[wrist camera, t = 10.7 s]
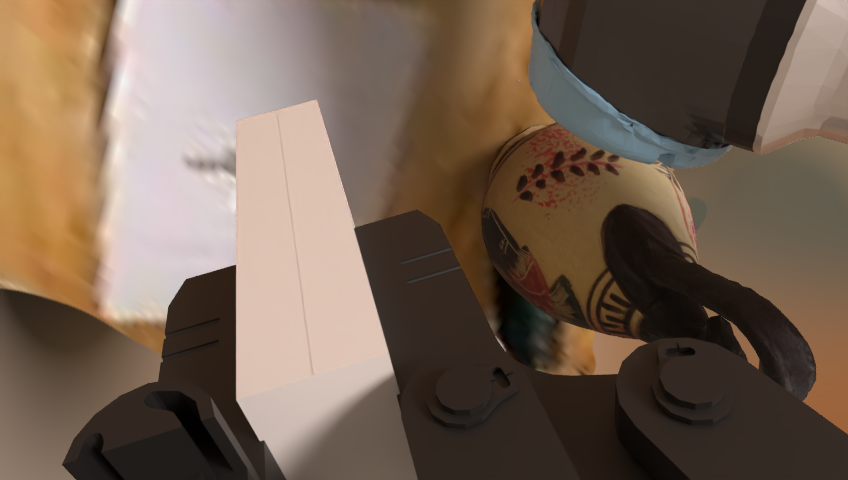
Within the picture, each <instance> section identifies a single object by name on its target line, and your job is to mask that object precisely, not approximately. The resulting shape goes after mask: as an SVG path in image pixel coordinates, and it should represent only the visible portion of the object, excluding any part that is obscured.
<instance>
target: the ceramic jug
mask: <svg viewBox="0 0 848 480" xmlns="http://www.w3.org/2000/svg"><path fill="white" fill-rule="evenodd" d="M519 81H521V80H519ZM481 220H482V233H483V237H484V242H485V245H486V248H487V251H488V253H489V256H490V258H491V260H492V262H493V264H494V266H495V268H496V269H497V270H498V272H499V273H500V274H501V276H502V277H503V278H504V279H505V280H506V282H507V283H508V284H509V285H510V286H511V287H512V288H513V289H514V290H515V291H517V292H518V293H519V294H520V295H521V296H523V297H524V298H525V299H526V300H527V301H529V302H530V303H531V304H533V305H534V306H535V307H537V308H538V309H540V310H542V311H543V312H545V313H547V314H549V315H550V316H552V317H555V318H557V319H559V320H562V321H564V322H567V323H570V324H573V325H576V326H579V327H582V328H586V329H590V330H594V331H597V332H600V333H604V334H607V335H613V336H618V337H622V338H631V339H640V340H642V341H644V342H647V343H651V342H653V341H656V340H659V339H664V338H693V339H697V340H701V341H706V342H710V343H714V344H717V345H719V346H721V347H723V348H725V349H727V350H729V351H731V352H732V353H734V354H736V355H738V356H740V357H742V358H743V359H745V360H746V361H747V358H746V355H745V353H744V351H743V350H742V348H741V346H740V344H739V342H738V341H737V339H736V337H735V336H734V334H733V330H732V327H731V324H730V323H729V322H728V321H727V320H729V321H731V322H732V323H733V324H735V325H736V326H737V327H738V329H739V330H740V331H741V332H742V333H743V334H744V335H745V337H746V338H747V339H748V340H749V342H750V344H751V345H752V347H753V348H754V350H755V351H756V353H757V355H758V357H759V359H760V362H759V370H760V371H761V372H763V373H764V374H765V375H767V376H768V377H769V378H771V379H772V380H773V381H775V382H776V383H778V384H779V385H780V386H782V387H783V388H784V389H786V390H787V391H789V392H790V393H791V394H793V395H794V396H795V397H797V398H798V399H800V400H801V401H803V400H804V399H805V398H806V397H807V394H808V392H809V391H810V390H811V388H812V386H813V384H814V383H815V381H816V364H815V360H814V356H813V354H812V352H811V349H810V347H809V345H808V343H807V342H806V341H805V339H804V338H803V336H802V335H801V334H800V332H799V331H798V330H797V328H796V327H795V326H794V325H793V324H792V323H791V322H790V321H789V319H788V318H787V317H786V316H785V315H784V314H783V313H782V312H781V311H780V310H779V309H777V307H776V306H774V305H773V304H772V303H771V302H770V301H769V300H767V299H765V298H764V297H762V296H760V295H759V294H757V293H756V292H755V291H754V290H752V289H751V288H747V287H743V286H742V285H740V284H739V283H737V282H734V281H731V280H728V279H726V278H724V277H722V276H720V275H718V274H715V273H712V272H710V271H709V270H707V269H706V268H704V267H702V266H701V265H699V259H698V253H697V243H696V231H695V227H694V224H693V219H692V214H691V210H690V207H689V205H688V203H687V201H686V198H685V195H684V192H683V191H682V189H681V187H680V185H679V183H678V181H677V180H676V178H675V176H674V175H673V173H672V172H671V170H670V169H669V168H668V167H667V166H666V165H664V164H663V163H661V162H659V161H657V160H656V161H655V162H654V163H653V164H645V163H640V162H636V161H632V160H629V159H626V158H623V157H620V156H617V155H614V154H611V153H609V152H607V151H605V150H602V149H600V148H597V147H595V146H594V145H592V144H590V143H588V142H586V141H584V140H582V139H580V138H579V137H577V136H575V135H574V134H572V133H570V132H569V131H567V130H566V129H565V128H563V127H562V126H561V125H559V124H558V123H557V122H556V123H554V124H551V125H548V126H545V125H536V126H532V127H530V128H529V129H527V130H526V131H524V132H523V133H521V134H519V135H517V136H516V137H514V138H513V139H511V140H510V141H509V142H508V143H507V144H506V145H505V146H504V148H503V149H502V151H501V152H500V154H499V155H498V157H497V158H496V160H495V161H494V163H493V165H492V167H491V169H490V172H489V182H488V185H487V187H486V190H485V194H484V199H483V205H482V211H481ZM703 306H705V307H706V308H708V309H710V310H712V311H714V312H716V313H717V314H719V315H718V316H713V317H710V318H709V317H708V315H707V313H706V311H705V309H704V307H703ZM723 317H724V318H725V319H727V320H725V319H724V318H723ZM747 362H748V361H747Z"/></svg>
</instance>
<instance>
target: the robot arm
mask: <svg viewBox="0 0 848 480" xmlns="http://www.w3.org/2000/svg"><path fill="white" fill-rule="evenodd" d="M531 23H532V27H533V35H532V43H531V51H530V58H529V66H528V75H529V82H530V86H531V87H532V89H533V91H534V93H535V95H536V97H537V101H538V102H539V104H540V105H541V107H542V108H543V109H544V110H545V111H546V112H547V113H548V115H549V116H550V117H551V118H552V119H554V120H555V121H556V122H557V123H558V124H559V125H561V126H562V127H563V128H565V129H566V130H567V131H569V132H570V133H572V134H574V135H575V136H577V137H579V138H580V139H582V140H584V141H586V142H588V143H590V144H592V145H594V146H595V147H597V148H600V149H602V150H605V151H607V152H609V153H611V154H614V155H617V156H620V157H623V158H626V159H629V160H632V161H636V162H640V163H645V164H653V163H654V162H655V161H656V160H657V161H659V162H661V163H663V164H664V165H666V166H668V167H670V168H696V167H701V166H704V165H709V164H712V163H713V162H715V161H717V160H718V159H719V158H721V157H722V155H723V154H725V153H726V152H728V151H729V150H730V149H731V148H732V147H733V146H736V147H739V148H742V149H745V150H748V151H752V152H755V153H759V154H766V153H768V152H771V151H773V150H776V149H778V148H780V147H783V146H785V145H788V144H790V143H793V142H795V141H797V140H800V139H802V138H809V137H815V136H820V137H823V138H826V139H830V140H834V141H837V142H841V143H844V144H847V145H848V0H536V1H535V2H534V3H533V8H532V13H531ZM165 335H166V339H164V343H163V350H162V358H163V362H162V363H161V366H160V373H159V380H158V382H154V383H148V384H146V385H143V386H141V387H139V388H137V389H134V390H132V391H130V392H128V393H125V394H123V395H121V396H119V397H118V398H117V399H115V400H114V401H113V402H111V403H110V404H109V405H107V406H106V407H105V408H103V409H102V410H101V411H99V412H98V413H96V414H95V415H94V416H93V417H92V419H91V420H90V421H89V422H88V423H87V424H86V425H85V427H84V428H83V429H82V430H81V431H80V433H79V434H78V435H77V436H76V437H75V438H74V440H73V442H72V444H71V447H70V449H69V451H68V453H67V455H66V458H65V460H64V462H63V464H62V465H63V466H64V467H65V468H66V469H67V470H68V472H69V473H70V474H71V475H72V476H73V477H74V478H75V479H76V480H848V435H847V434H846V433H845V432H844V431H842V430H841V429H839V428H838V427H837V426H835V425H834V424H833V423H831V422H830V421H828V420H827V419H825V418H824V417H823V416H822V415H820V414H819V413H817V412H816V411H815V410H813V409H812V408H811V407H809V406H808V405H806V404H805V403H804V402H802V401H801V400H800V399H798V398H797V397H795V396H794V395H793V394H791V393H790V392H789V391H787V390H786V389H784V388H783V387H782V386H780V385H779V384H778V383H776V382H775V381H773V380H772V379H771V378H769V377H768V376H767V375H765V374H764V373H763V372H761V371H760V370H758V369H757V368H756V367H754V366H753V365H752V364H750V363H749V362H747V361H746V360H745V359H743V358H742V357H740V356H738V355H736V354H734V353H732V352H731V351H729V350H727V349H725V348H723V347H721V346H719V345H717V344H714V343H710V342H706V341H701V340H697V339H693V338H664V339H659V340H656V341H653V342H651V343H648V344H645V345H643V346H640V347H638V348H637V349H636V350H635V351H634V352H632V353H631V354H630V355H629V356H628V357H627V358H626V359H625V360H624V361H623V362H622V365H621V367H620V370H619V373H618V374H612V375H581V376H568V375H552V374H548V373H544V372H540V371H537V370H533V369H531V368H529V367H527V366H525V365H523V364H521V363H519V362H517V361H516V360H515V359H514V358H512V357H511V356H510V355H509V354H507V353H506V352H505V351H504V349H503V348H502V346H501V345H500V344H499V342H498V341H497V339H496V337H495V335H494V333H493V331H492V329H491V327H490V325H489V323H488V321H487V319H486V317H485V315H484V313H483V311H482V309H481V307H480V305H479V303H478V301H477V299H476V297H475V295H474V293H473V290H472V288H471V286H470V284H469V282H468V280H467V278H466V276H465V274H464V272H463V270H462V269H461V268H460V264H459V262H458V260H457V258H456V256H455V254H454V252H453V251H452V249H451V246H450V244H449V242H448V240H447V238H446V236H445V234H444V232H443V230H442V228H441V226H440V224H439V223H437V222H436V221H434V220H433V219H431V218H430V217H428V216H426V215H425V214H423V213H422V212H420V211H419V210H415V211H411V212H408V213H404V214H401V215H397V216H394V217H390V218H387V219H384V220H380V221H377V222H373V223H370V224H366V225H363V226H359V227H356V228H355V225H354V221H353V218H352V215H351V211H350V208H349V205H348V201H347V198H346V195H345V191H344V188H343V185H342V181H341V178H340V175H339V171H338V168H337V165H336V161H335V158H334V155H333V151H332V148H331V145H330V141H329V138H328V135H327V131H326V128H325V125H324V122H323V118H322V115H321V112H320V108H319V105H318V102H317V99H316V100H312V101H309V102H305V103H301V104H297V105H294V106H290V107H286V108H282V109H279V110H275V111H271V112H267V113H264V114H260V115H256V116H253V117H249V118H245V119H241V120H238V121H236V265H234V266H230V267H227V268H223V269H220V270H216V271H213V272H209V273H206V274H203V275H199V276H196V277H192V278H189V279H186V280H185V281H184V283H183V285H182V286H181V288H180V289H179V291H178V292H177V294H176V296H175V297H174V299H173V300H172V302H171V303H170V305H169V307H168V314H167V321H166V328H165Z"/></svg>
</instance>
